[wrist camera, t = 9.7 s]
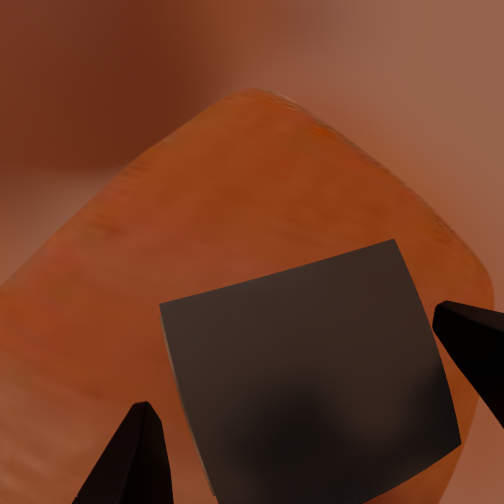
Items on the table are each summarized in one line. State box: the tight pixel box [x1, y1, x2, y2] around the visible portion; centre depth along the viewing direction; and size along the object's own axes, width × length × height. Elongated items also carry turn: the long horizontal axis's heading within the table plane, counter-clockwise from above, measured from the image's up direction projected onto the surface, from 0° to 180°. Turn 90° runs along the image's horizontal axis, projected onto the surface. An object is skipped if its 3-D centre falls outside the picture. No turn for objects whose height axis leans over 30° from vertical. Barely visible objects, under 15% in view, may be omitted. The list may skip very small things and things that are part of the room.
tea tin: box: [159, 239, 461, 504], centre depth 11 cm, size 7×7×10 cm
